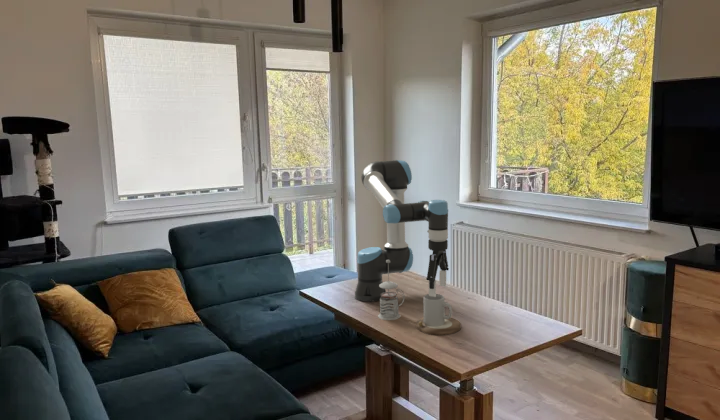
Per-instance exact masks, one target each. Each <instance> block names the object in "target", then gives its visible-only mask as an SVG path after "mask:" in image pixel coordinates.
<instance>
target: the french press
mask: <svg viewBox="0 0 720 420" xmlns="http://www.w3.org/2000/svg"><path fill="white" fill-rule="evenodd" d="M386 263H390V260H386ZM387 277H388V278H387V280H388V281H382V282H383V283H381V284H380V285H379V287H380V288H382V289H385V290H387V291H386V292H383V293H381V297H380V300H379V314H378V315H377V317H378V319H380V320H384V321H395V320H398V319H400V318H401V314H400V313H399V312H400V311H399V307H400V306H402V305H403V304H404V302H405V293H404V291H403V290H402V289H400V288H398V286H399V284H398V283H396V282H395V281H391V280H390V277H389V265H388V274H387ZM396 288H397V292H401V296H402V302H401V303H399V297H398V293H397V292H394V291H390V290H394V289H396Z"/></svg>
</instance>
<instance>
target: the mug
mask: <svg viewBox="0 0 720 420" xmlns="http://www.w3.org/2000/svg"><path fill="white" fill-rule="evenodd" d="M445 299H446V298H445V296H444V295H443V294H441V293H436V297H433V296H429V293H427V294H425V295H424V296H423V317H424V324H426V325H428V326H441V325H443V324H444V323H445V319H450V318H452V315H453V308H452V305H451V303H449V302H446V301H445ZM445 307H447V308H448V309H449V311H448V312H449V313H448V314H445V313H446V310H445Z"/></svg>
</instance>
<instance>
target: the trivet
mask: <svg viewBox="0 0 720 420" xmlns="http://www.w3.org/2000/svg"><path fill="white" fill-rule="evenodd" d="M415 327H416V329H417V331H420V332H421V333H424V334H426V335H427V334H428V335H431V336H432V335H433V336H447V335H449V336H450V335H452V334H456V333H458V332H459V331H461V328H462V323H461V321H460V320H458V319H456V318H454V317H451V318H450V319H445V323H444V324H443V325H441V326H428V325H426V324H424V316H422V317H421V318H419V319H417V320H416V322H415Z"/></svg>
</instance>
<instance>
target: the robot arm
mask: <svg viewBox="0 0 720 420" xmlns="http://www.w3.org/2000/svg"><path fill="white" fill-rule="evenodd" d="M412 175H413V174H412V169H411V167H410V165H409V163H408V162H407V161H406V160H401V159H400V160H397V159H395V160H383V161H382V160H381V161H378V160H377V161H372V162H370V163H368V164H367V165H366V166H365V167H364V168H363V170H362V173H361V177H360V178H361V183H362V186H363V187H364V188H365V189H366V190H368V191H370V192H371V194H372V196H373V197H375V199H376V201H377V202H378V203H379V204H380V206H381V208H382V217H383V220H384V222H385V223H386V239H387V242H386V243H385V244H384V247H383V249H382V248H381V247H378V246H371V247H366V248H363V249H360V250H359V251H358V252H357V259H356V262H357V284H356V286H355V291H354V298H355V299H356V300H358V301H362V302H377V301H378V302H380V297H381V293H383V292H387V291H386V290H387V289H382V288H380V287H379V285H380V284H381V283H383V282H384V281H383V275H388V265H389V274H396V273H397V274H398V273H399V274H401V273H405V272H406V273H407V272H408V271H410V270H411V268H412V266H413V262H414V254H413V250H412V248H411V247H410V246H409V244H408V243H407V242H406V227H405V226H406V225H405V224H406V223H410V222H411V223H412V222H423V221H426V222H428V230H427V233H428V248H427V249H429V250H430V251H432V254H429V259H428V260H429V261H428V268H427V274H426V275H427V276H426V279H425V280H427V281H428V294H429V296H433V297H436V294H437V280H436V277H437V273H439V275H438V276H439V280H438V281H439V283H438V284H439V287H440V286H441V287H447V271H449V269H450V268H449V264H448V263H449V262H448V257H447V250H448V249H449V248H448V245H449V244H448V243H449V241H448V238H449V236H448V235H449V232H448V231H449V229H448V228H449V227H448V225H449V223H448V222H449V206H448V205H449V204H448V201H446V200H444V199H431V200H419V201H418V202H411V203H410V202H409V203H405V192H406V191H407V190H408V185H411V183H412V179H413V177H412ZM386 260H390V263H386ZM438 269H440V270H439V272H438Z"/></svg>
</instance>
